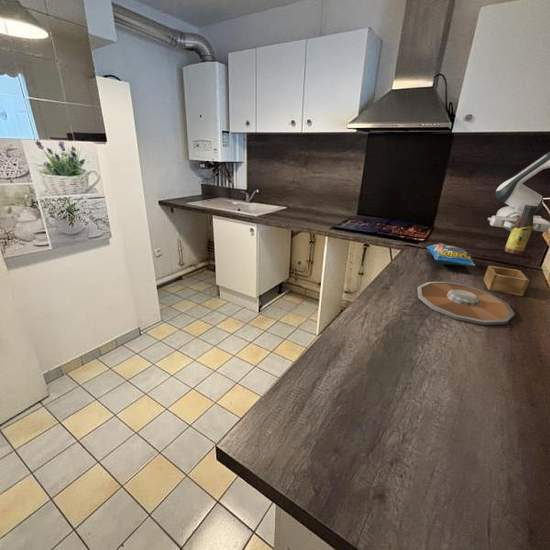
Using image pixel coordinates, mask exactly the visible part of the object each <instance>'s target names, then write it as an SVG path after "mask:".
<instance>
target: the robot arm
mask: <svg viewBox="0 0 550 550" xmlns="http://www.w3.org/2000/svg"><path fill="white" fill-rule="evenodd" d="M545 169H550V151H548V152H547V153H545V154H543V155H542V156H541V157H539V158H538V159H537V160H535V161H533V162H532V163H531V164H529V165H528V166H526V167H525V168H523V169H522V170H521V171H519V172H518V173H516V174H515V175H513V176H512V177H510V178H509V179H506V180H505V181H504V182H501V184H499V186H498V187H497V188H496V190H495V198H496V200H497V201H499V202H502V203H503V204H506V206H503V207H501V208H500V209H498V210H497V212H496V215H492V216H490V217H487V221H489V225H490V226H491V227H497V228H504V229H505V230H507V231H509V232H511V231H512V228H514V226H515V221H516V220H517V219H518V218H519V217H521V216H522V213H523V210H524V206H525V204H529V205H537V206H538V207H537V210H536V211H535V213H534V216H533V229H532V231H531V232H540V233H541V232H542V233H548V232H549V230H550V221H548V220H546V219H545V218H543V217H542V216H541V215H537V214H536V213H538V212H539V210H540V209H541V208H542V206H543V204H544V196H543V195H542V194H540V193H538V192H537V191H535V190H534V189H531V188H530V187H528V186H526V185H525V184H523V183H524V182H526V181H527V180H529V179H531V178H532V177H534V176H535V175H537V174H538V173H539V172H541V171H542V170H545ZM542 200H543V201H542ZM542 202H543V203H542Z"/></svg>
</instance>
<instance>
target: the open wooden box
mask: <svg viewBox="0 0 550 550" xmlns="http://www.w3.org/2000/svg"><path fill="white" fill-rule="evenodd" d="M483 282H484V284H485V285H486V288H487V289H488V290H489V291H493V292H499V293H503V294H509V295H513V296H518V297H519V296H520V297H523V296H524V294H525V292H526V290H527V287H528V285H529V282H530V279H529V278H528V277H527V276H526V275H525V274H524V273H523V272H522V270H519V269H514V268H508V267H502V266H494V265H488V266H487V269H486V271H485V274H484V277H483Z"/></svg>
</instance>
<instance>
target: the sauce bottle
mask: <svg viewBox="0 0 550 550" xmlns="http://www.w3.org/2000/svg"><path fill="white" fill-rule="evenodd" d="M537 207H538V206H537V205H529V204H525V206H524V210H523V213H522V216H521V217H519V218H518V219H517V220H516V221H515V226H514V228H512V231H510V233H509V236H508V238H507V241H506V244H505V248H504V251H505V253H509V254H513V255H521V254H522V253H523V251H525V248H526V246H527V243H528V241H529V239H530V236H531V234H532V232H533V231H532V229H533V216H534V215H535V214H536V213H535V211H536V210H537ZM534 213H535V214H534Z"/></svg>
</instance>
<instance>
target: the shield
mask: <svg viewBox="0 0 550 550" xmlns="http://www.w3.org/2000/svg"><path fill="white" fill-rule="evenodd" d="M416 291H417V298H418V300H420V301H421V302H422V303H423V304H424V305H426V306H427V307H428V308H429V309H430V310H432V311H434V312H437V313H439V314H442V315H444V316H446V317H448V318H450V319H453V320H456V321H459V322H464V323H470V324H474V325H479V326H485V327H486V326H500V325H501V326H502V325H507V324H508V323H509V322H510V321H511V320H512V319H513V318H514V317H515V315H516V313H515V312H514V310H513V309H512V307H511V306H510V305H509V302H506V301H504V300H503V299H501V298H500V297H498V296H496V295H495V294H493V293H491V292H488V291H485V290H483V289H480V288H477V287H474V286H470V285H468V284H462V283H456V282H452V281H451V282H450V281H427V282H425V283H423V284H421V285H419V286H417V290H416Z"/></svg>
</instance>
